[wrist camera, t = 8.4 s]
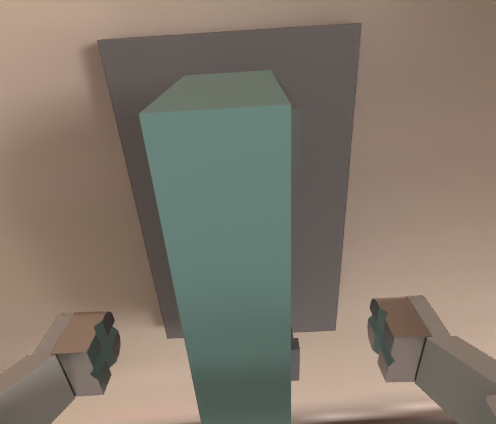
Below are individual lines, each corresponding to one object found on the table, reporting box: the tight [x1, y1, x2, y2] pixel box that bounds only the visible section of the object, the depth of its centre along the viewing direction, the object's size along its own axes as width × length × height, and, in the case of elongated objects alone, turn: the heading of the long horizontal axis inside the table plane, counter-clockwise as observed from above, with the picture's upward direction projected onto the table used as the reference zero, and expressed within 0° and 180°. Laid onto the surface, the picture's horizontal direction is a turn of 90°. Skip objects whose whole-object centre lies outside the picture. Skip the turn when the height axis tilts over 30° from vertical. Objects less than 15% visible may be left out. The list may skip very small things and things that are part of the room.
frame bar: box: [139, 70, 291, 424], centre depth 11 cm, size 2×14×5 cm, turn 3°
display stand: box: [97, 23, 361, 381], centre depth 15 cm, size 10×16×6 cm, turn 3°
